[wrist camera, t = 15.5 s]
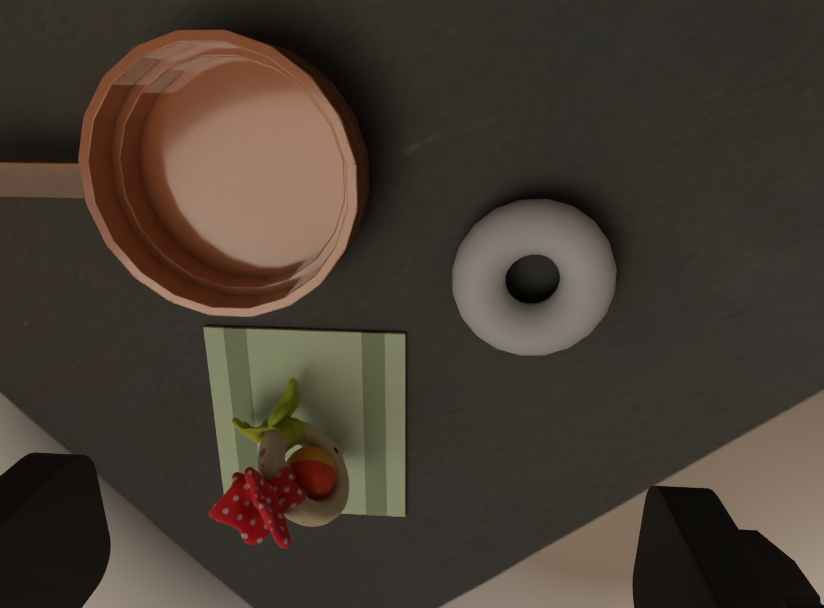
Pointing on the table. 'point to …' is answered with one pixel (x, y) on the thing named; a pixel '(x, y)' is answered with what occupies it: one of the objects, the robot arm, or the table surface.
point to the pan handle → (40, 179)
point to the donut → (531, 235)
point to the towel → (317, 401)
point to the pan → (223, 171)
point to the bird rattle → (285, 477)
